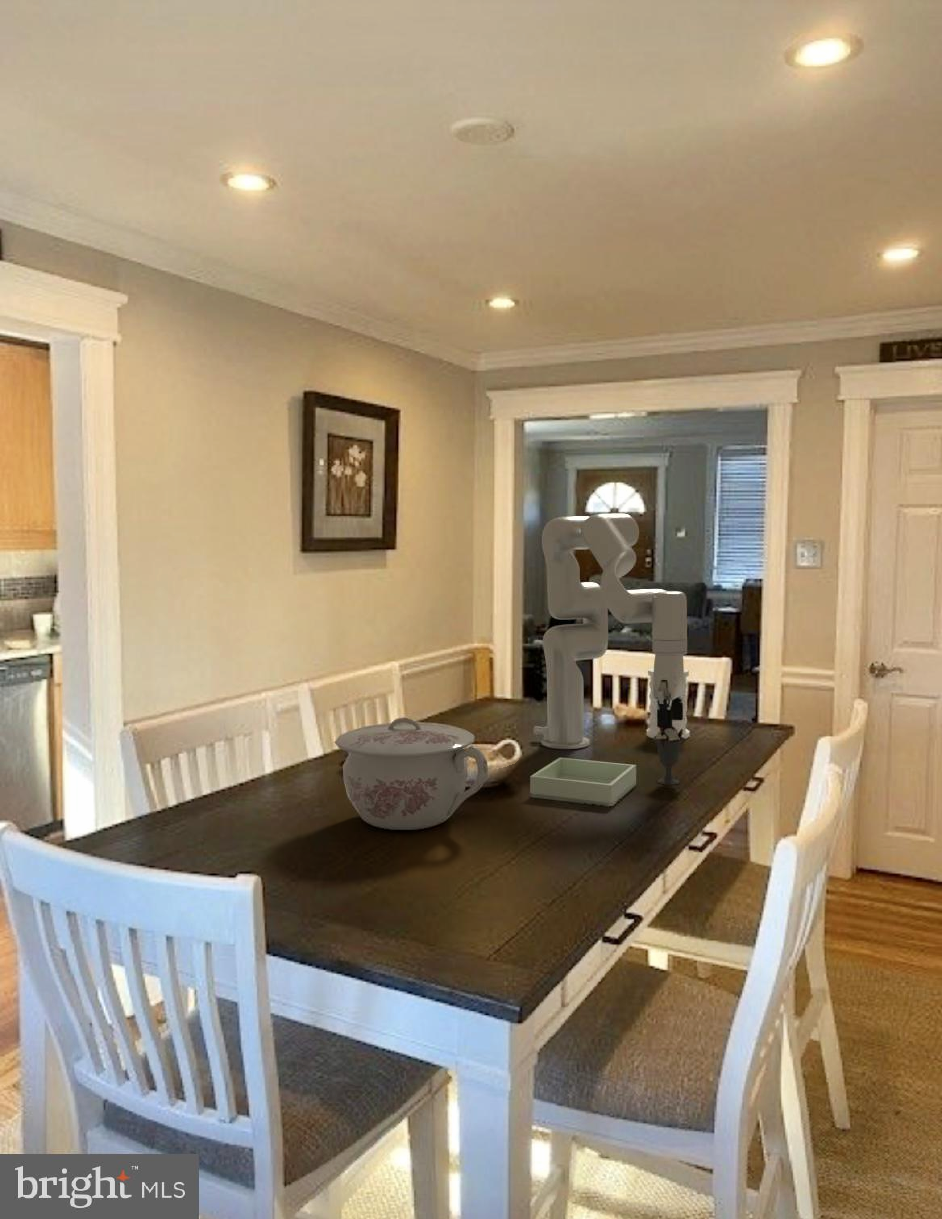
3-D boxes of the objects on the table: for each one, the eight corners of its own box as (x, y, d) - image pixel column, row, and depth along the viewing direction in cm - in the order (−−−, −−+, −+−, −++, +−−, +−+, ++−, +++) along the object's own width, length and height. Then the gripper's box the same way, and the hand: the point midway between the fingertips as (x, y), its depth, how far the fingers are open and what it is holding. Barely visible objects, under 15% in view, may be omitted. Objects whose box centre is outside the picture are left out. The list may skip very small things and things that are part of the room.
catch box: (530, 797, 205) (530, 776, 205) (559, 776, 222) (559, 757, 221) (611, 806, 198) (611, 785, 197) (636, 785, 214) (636, 765, 213)
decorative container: (657, 741, 256) (657, 674, 255) (639, 732, 267) (639, 668, 266) (697, 738, 259) (697, 672, 257) (678, 729, 270) (678, 666, 268)
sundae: (647, 783, 216) (647, 716, 214) (663, 776, 220) (663, 712, 219) (673, 788, 211) (673, 720, 210) (689, 781, 216) (689, 716, 215)
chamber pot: (321, 811, 197) (318, 711, 196) (445, 794, 208) (444, 700, 206) (360, 853, 172) (358, 739, 170) (500, 832, 183) (499, 724, 181)
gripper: (662, 642, 222) (663, 716, 223) (642, 651, 207) (643, 729, 208) (695, 643, 219) (695, 718, 220) (677, 652, 203) (677, 732, 205)
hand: (670, 723), depth 214 cm, fingers open, 9 cm apart
